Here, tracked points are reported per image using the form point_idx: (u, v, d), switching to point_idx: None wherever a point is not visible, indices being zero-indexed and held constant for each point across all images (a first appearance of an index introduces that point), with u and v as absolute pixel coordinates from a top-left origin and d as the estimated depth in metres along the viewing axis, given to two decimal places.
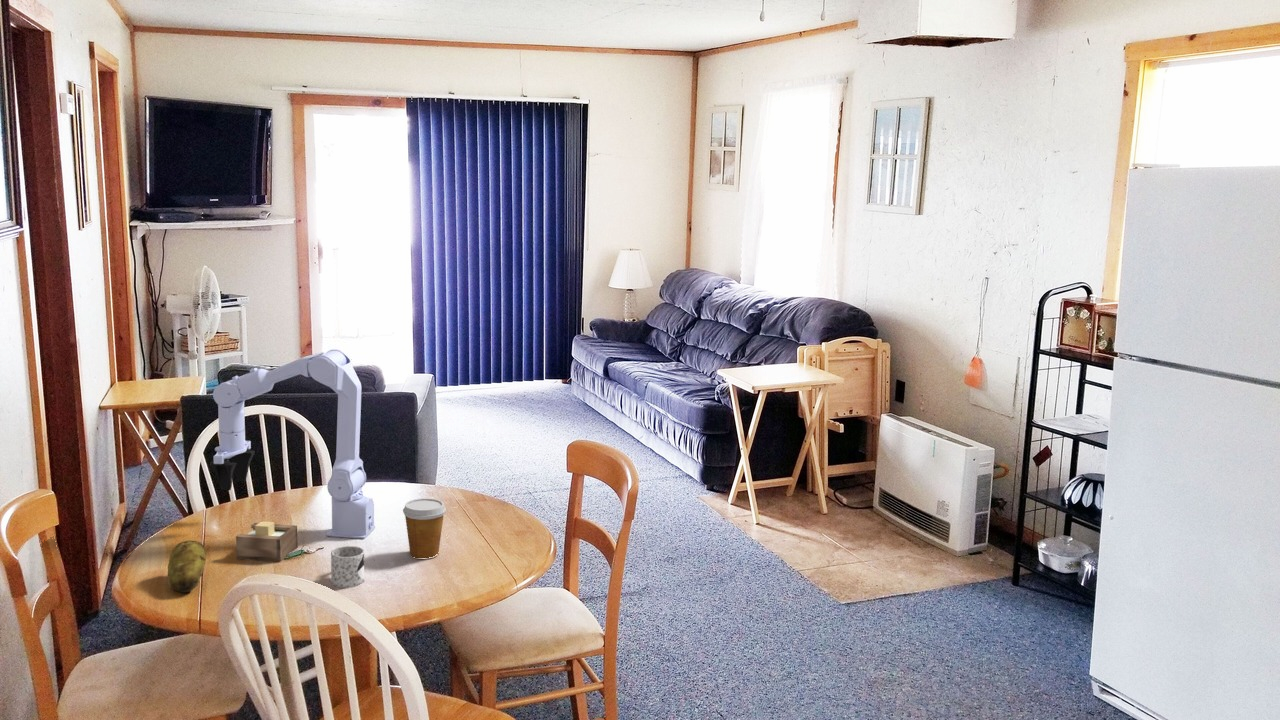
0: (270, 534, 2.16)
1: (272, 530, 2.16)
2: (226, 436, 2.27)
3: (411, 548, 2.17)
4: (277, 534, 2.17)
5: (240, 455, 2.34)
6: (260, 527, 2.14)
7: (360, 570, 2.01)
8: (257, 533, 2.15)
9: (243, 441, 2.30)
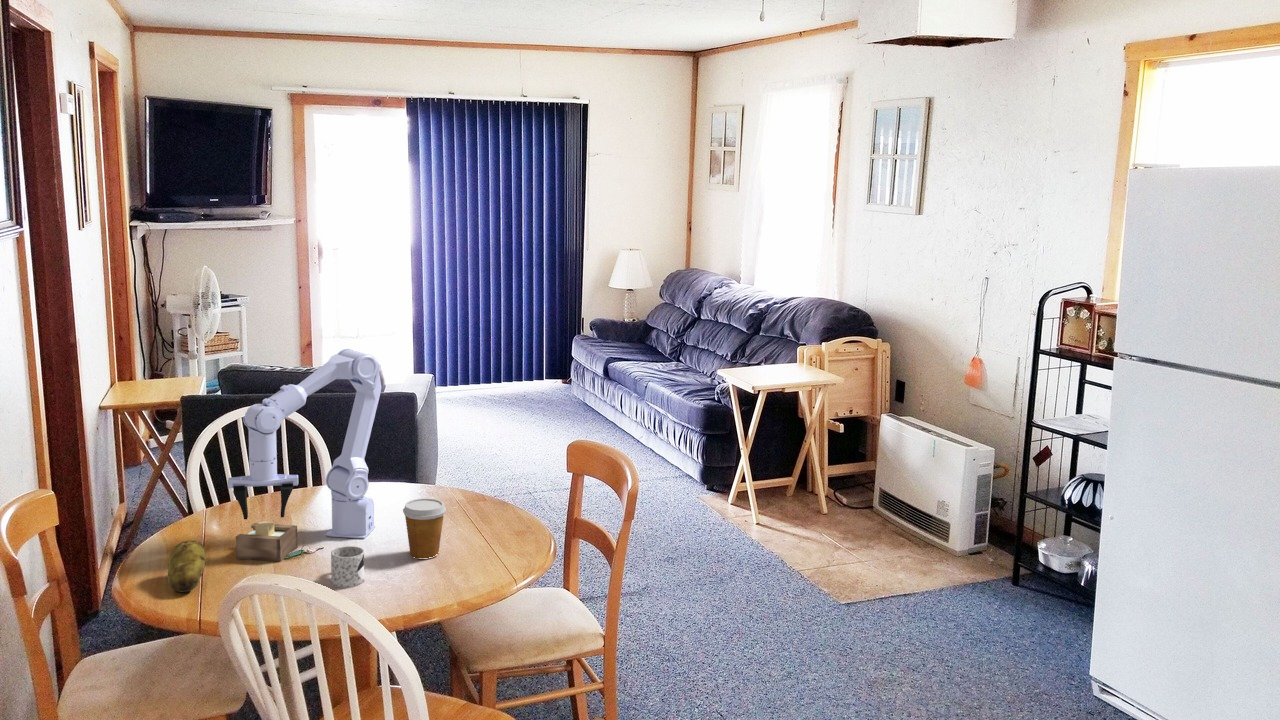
0: (270, 534, 2.16)
1: (272, 530, 2.16)
2: (249, 462, 2.12)
3: (411, 548, 2.17)
4: (277, 534, 2.17)
5: None
6: (260, 527, 2.14)
7: (360, 570, 2.01)
8: (257, 533, 2.15)
9: (261, 473, 2.11)
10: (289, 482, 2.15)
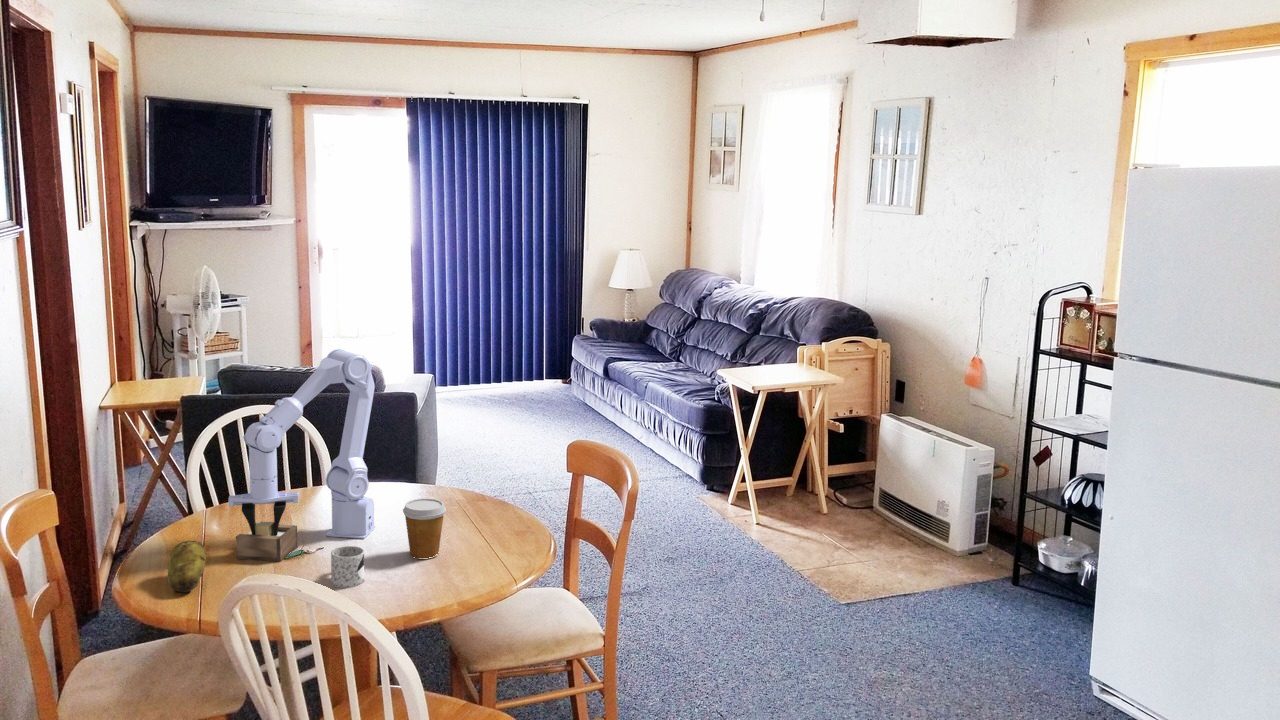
0: (270, 534, 2.16)
1: (272, 530, 2.16)
2: None
3: (411, 548, 2.17)
4: (277, 534, 2.17)
5: None
6: (260, 527, 2.14)
7: (360, 570, 2.01)
8: (257, 533, 2.15)
9: (262, 491, 2.12)
10: (282, 500, 2.16)
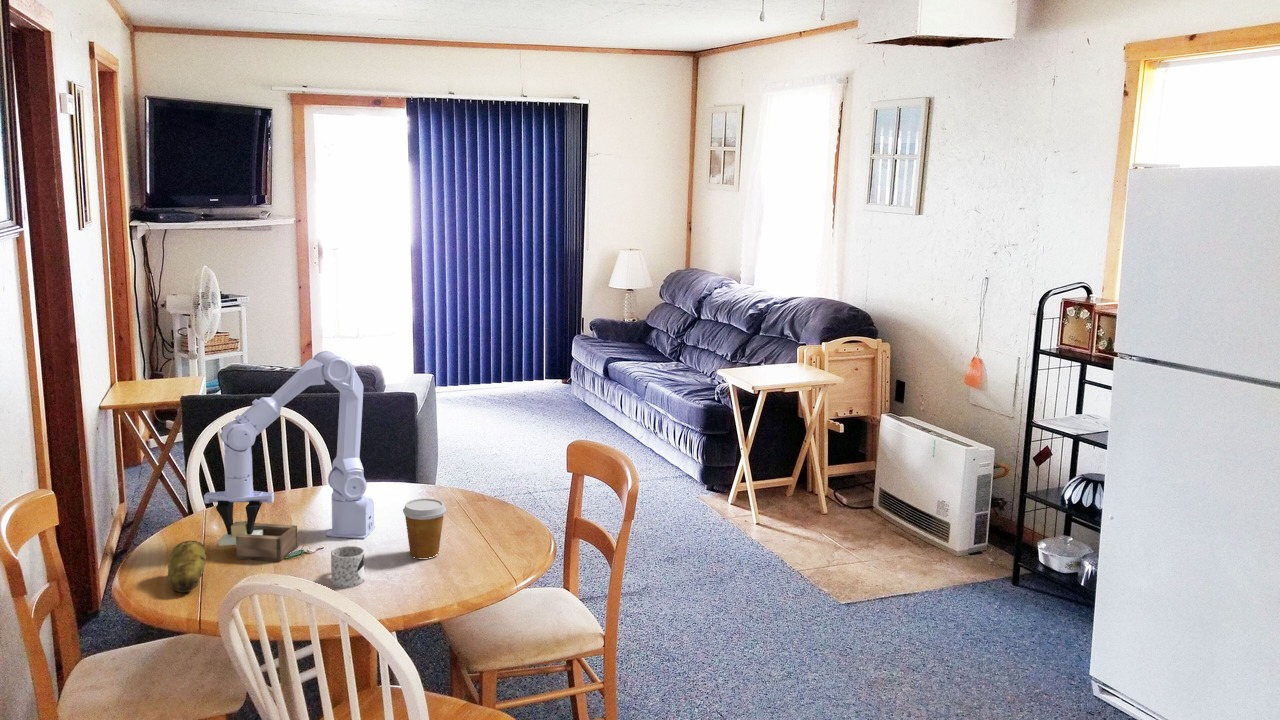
0: (247, 533, 2.16)
1: None
2: None
3: (411, 548, 2.17)
4: (253, 532, 2.17)
5: None
6: (237, 526, 2.14)
7: (360, 570, 2.01)
8: (233, 533, 2.14)
9: (234, 489, 2.12)
10: (256, 500, 2.15)
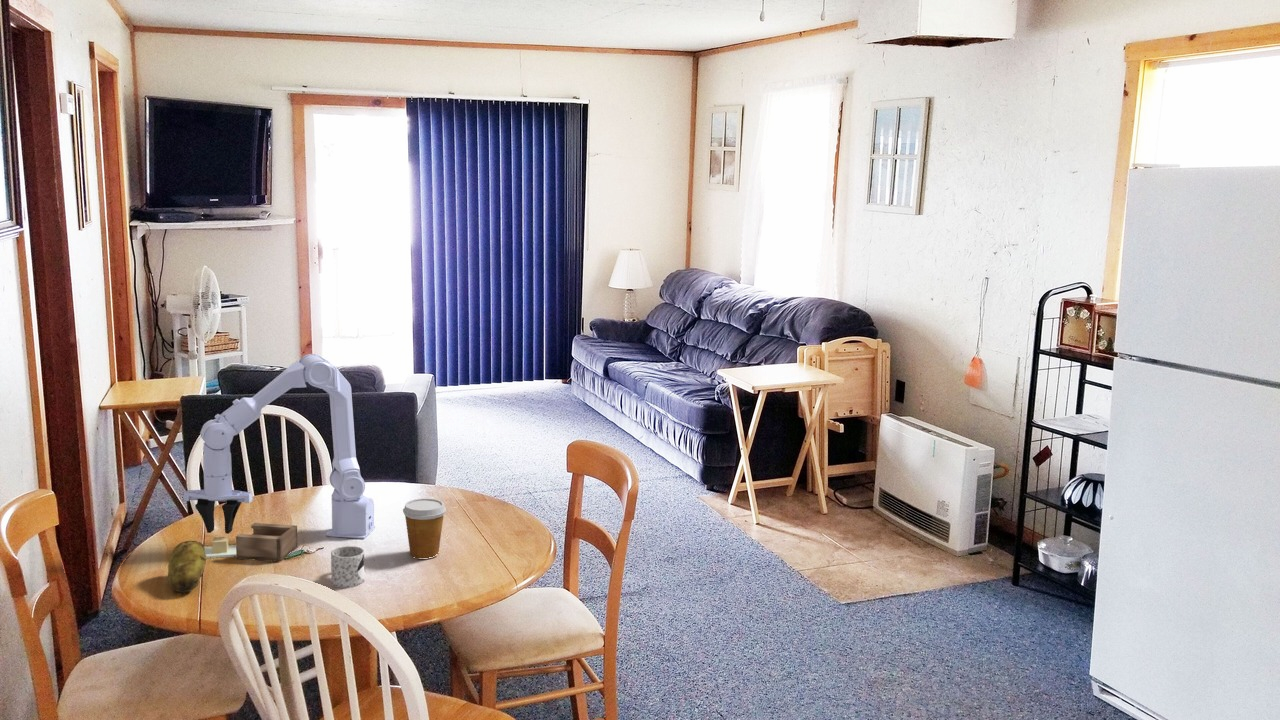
0: (227, 549, 2.16)
1: (227, 545, 2.17)
2: None
3: (411, 548, 2.17)
4: (232, 548, 2.17)
5: None
6: (218, 542, 2.14)
7: (360, 570, 2.01)
8: (214, 549, 2.14)
9: (212, 488, 2.12)
10: (234, 499, 2.15)
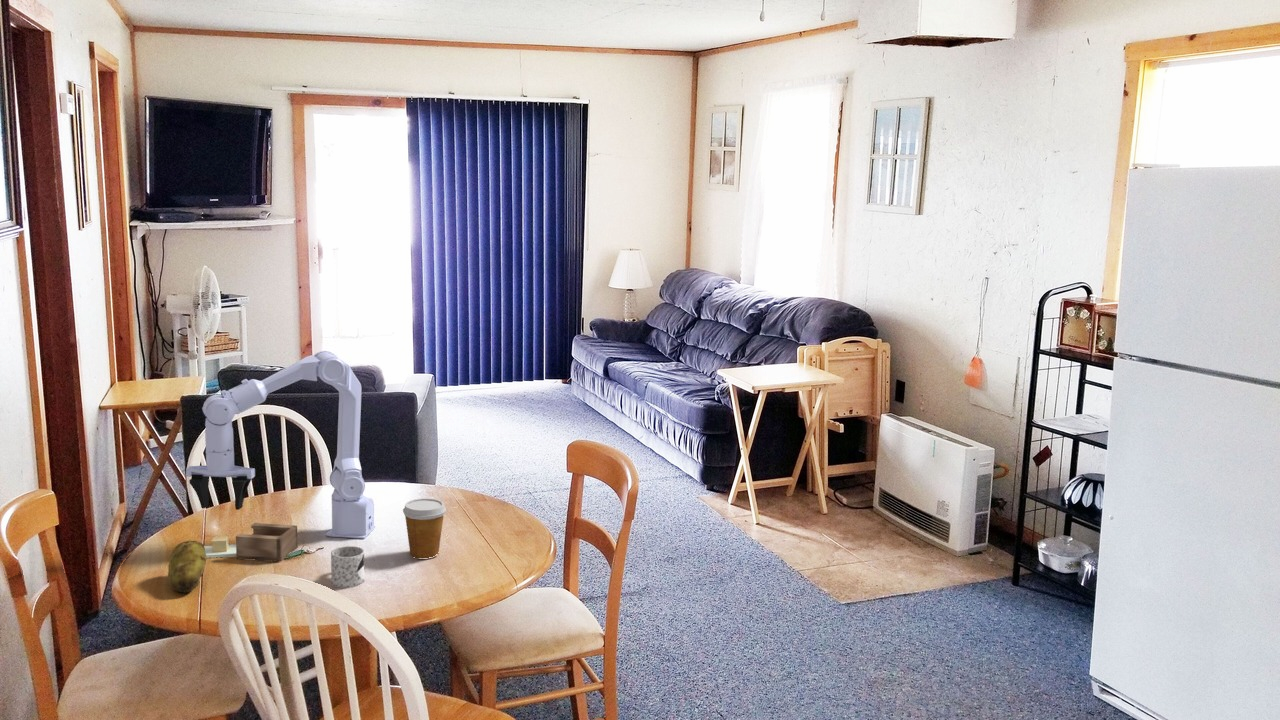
0: (227, 548, 2.16)
1: (227, 544, 2.17)
2: None
3: (411, 548, 2.17)
4: (232, 547, 2.17)
5: None
6: (218, 541, 2.14)
7: (360, 570, 2.01)
8: (214, 548, 2.14)
9: (214, 463, 2.12)
10: (244, 475, 2.15)
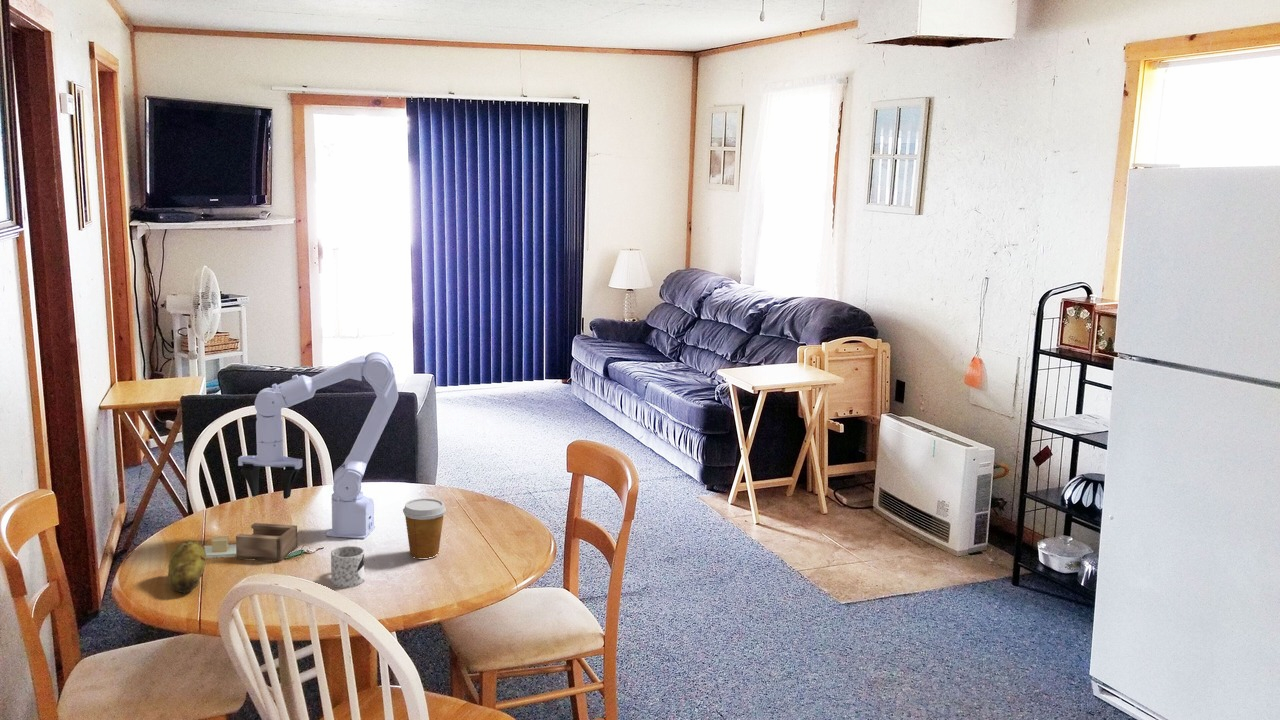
0: (227, 548, 2.16)
1: (227, 544, 2.17)
2: None
3: (411, 548, 2.17)
4: (232, 547, 2.17)
5: None
6: (218, 541, 2.14)
7: (360, 570, 2.01)
8: (214, 548, 2.14)
9: (263, 453, 2.21)
10: (292, 465, 2.23)
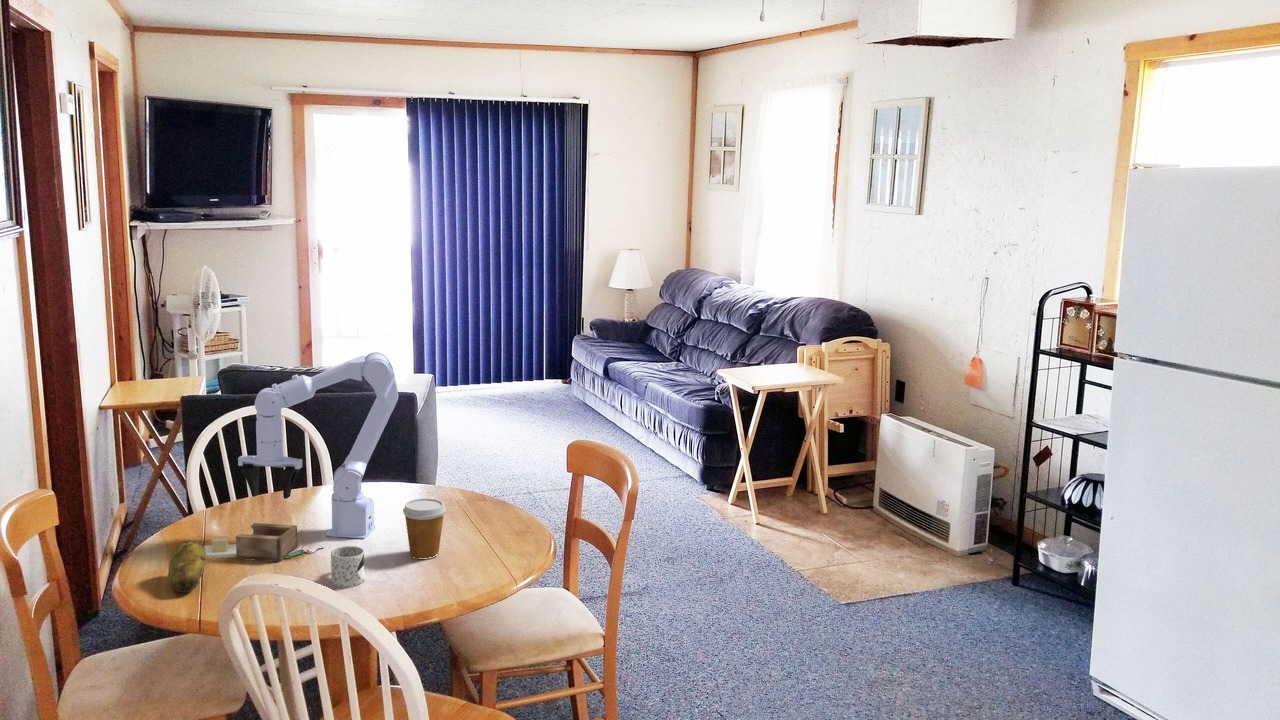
0: (227, 548, 2.16)
1: (227, 544, 2.17)
2: None
3: (411, 548, 2.17)
4: (232, 547, 2.17)
5: None
6: (218, 541, 2.14)
7: (360, 570, 2.01)
8: (214, 548, 2.14)
9: (263, 453, 2.21)
10: (292, 465, 2.23)
